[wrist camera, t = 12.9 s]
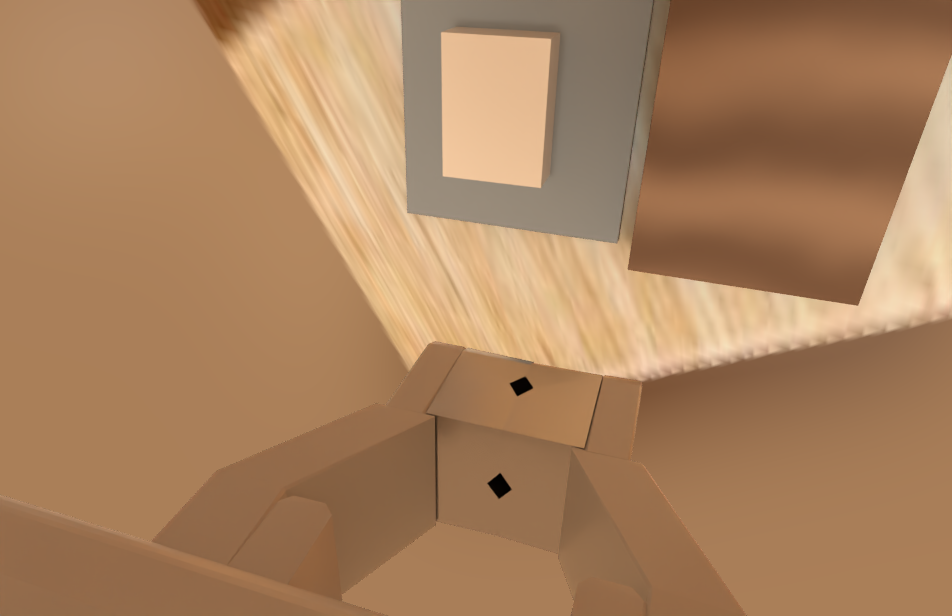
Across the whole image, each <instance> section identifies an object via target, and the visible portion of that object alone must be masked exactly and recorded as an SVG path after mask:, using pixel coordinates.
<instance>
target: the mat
mask: <svg viewBox="0 0 952 616" xmlns="http://www.w3.org/2000/svg"><path fill="white" fill-rule="evenodd" d="M653 3H654V0H401V19H402V51H403V83H404V116H405V148H406V181H407V213H413V214H419V215H426V216H433V217H440V218H447V219H453V220H460V221H467V222H474V223H481V224H488V225H494V226H501V227H508V228H515V229H522V230H528V231H535V232H542V233H549V234H556V235H562V236H569V237H576V238H583V239H590V240H596V241H603V242H610V243H618V239H619V232H620V226H621V219H622V212H623V205H624V199H625V192H626V185H627V178H628V172H629V165H630V158H631V151H632V145H633V138H634V131H635V124H636V118H637V111H638V104H639V97H640V91H641V84H642V77H643V70H644V64H645V57H646V50H647V43H648V37H649V30H650V23H651V16H652V10H653ZM454 27H472V28H489V29H506V30H523V31H540V32H557V33H560V46H559V60H558V73H557V86H556V100H555V113H554V126H553V140H552V153H551V166H550V175H549V177H548V178H547V180H546V181H545V183H544V184H543V186H542V187H541V188H536V187H528V186H519V185H511V184H503V183H494V182H486V181H478V180H469V179H461V178H453V177H444V176H443V158H442V66H441V32H443V31H446V30H448V29H451V28H454Z"/></svg>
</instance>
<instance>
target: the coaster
mask: <svg viewBox="0 0 952 616" xmlns="http://www.w3.org/2000/svg"><path fill="white" fill-rule="evenodd" d="M559 46H560V33H557V32H540V31H523V30H506V29H489V28H472V27H454V28H451V29H448V30H446V31H443V32H441V66H442V158H443V176H444V177H453V178H461V179H469V180H478V181H486V182H494V183H503V184H511V185H519V186H528V187H536V188H541V187H542V186H543V184H544V183H545V181H546V180H547V178H548V177H549V175H550V166H551V153H552V140H553V126H554V113H555V100H556V86H557V73H558V60H559Z"/></svg>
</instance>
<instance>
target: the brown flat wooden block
mask: <svg viewBox="0 0 952 616" xmlns="http://www.w3.org/2000/svg"><path fill="white" fill-rule="evenodd" d="M951 55H952V0H671V2H670V8H669V15H668V21H667V27H666V33H665V40H664V46H663V52H662V58H661V65H660V71H659V77H658V83H657V90H656V96H655V102H654V108H653V115H652V121H651V127H650V133H649V140H648V146H647V152H646V158H645V165H644V171H643V177H642V183H641V190H640V196H639V202H638V208H637V215H636V221H635V227H634V233H633V239H632V246H631V252H630V258H629V264H628V270H633V271H639V272H646V273H652V274H659V275H665V276H672V277H678V278H684V279H691V280H697V281H704V282H710V283H716V284H723V285H729V286H736V287H742V288H748V289H755V290H761V291H768V292H774V293H780V294H787V295H793V296H800V297H806V298H812V299H819V300H825V301H832V302H838V303H845V304H851V305H857V306H858V304H859V301H860V299H861V296H862V293H863V291H864V288H865V285H866V283H867V280H868V277H869V275H870V272H871V269H872V267H873V264H874V261H875V259H876V256H877V253H878V251H879V248H880V245H881V242H882V240H883V237H884V234H885V232H886V229H887V226H888V224H889V221H890V218H891V216H892V213H893V210H894V208H895V205H896V202H897V200H898V197H899V194H900V192H901V189H902V186H903V184H904V181H905V178H906V175H907V173H908V170H909V167H910V165H911V162H912V159H913V157H914V154H915V151H916V149H917V146H918V143H919V141H920V138H921V135H922V133H923V130H924V127H925V125H926V122H927V119H928V117H929V114H930V111H931V108H932V106H933V103H934V100H935V98H936V95H937V92H938V90H939V87H940V84H941V82H942V79H943V76H944V74H945V71H946V68H947V66H948V63H949V60H950V58H951Z"/></svg>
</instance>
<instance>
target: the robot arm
mask: <svg viewBox="0 0 952 616" xmlns="http://www.w3.org/2000/svg"><path fill="white" fill-rule="evenodd" d="M641 391H642V383H641V381H638V380H632V379H625V378H619V377H613V376H607V375H605V376H604V377H603V376H602V375H597V374H591V373H586V372H580V371H575V370H569V369H564V368H558V367H553V366H547V365H542V364H536V363H534V362H531V361H526V360H522V359H517V358H512V357H508V356H503V355H499V354H494V353H489V352H485V351H480V350H476V349H471V348H467V349H466V348H465V347H462V346H457V345H451V344H446V343H441V342H436V341H435V342H432V343H430V344H428V345H427V347H426V348H425V350H424V351H423V352H422V354H421V355H420V357H419V358H418V360H417V361H416V362H415V364H414V365H413V367H412V368H411V370H410V371H409V372H408V374H407V375H406V377H405V378H404V380H403V381H402V383H401V384H400V385H399V387H398V388H397V390H396V391H395V393H394V394H393V396H392V397H391V398H390V400H389V401H388V403H387V404H386V405H383V404H378V403H375V404H373V405H370V406H368V407H366V408H364V409H361V410H359V411H357V412H354V413H352V414H349V415H347V416H345V417H342V418H340V419H337V420H335V421H333V422H330V423H328V424H326V425H323V426H321V427H319V428H316V429H314V430H312V431H309V432H307V433H305V434H302V435H300V436H297V437H295V438H293V439H290V440H288V441H285V442H283V443H281V444H278V445H276V446H274V447H271V448H269V449H267V450H264V451H262V452H260V453H257V454H255V455H252V456H250V457H248V458H246V459H243V460H241V461H239V462H236V463H234V464H231V465H229V466H226V467H224V468H222V469H219V470H217V471H216V472H215V473H214V474H213V475H212V476H211V477H210V478H209V479H208V481H207V482H206V483H205V484H204V485H203V486H202V487H201V488H200V489H199V490H198V491H197V493H195V495H194V496H193V497H192V498H191V499H190V500H189V501H188V502H187V503H186V504H185V505H184V506H183V507H182V509H181V510H180V511H179V512H178V513H177V514H176V515H175V516H174V517H173V518H172V519H171V521H169V523H168V524H167V525H166V526H165V527H164V528H163V529H162V530H161V531H160V532H159V533H158V534H157V536H156V537H155V538H154V539H153V540H152V541H151V542H150V541H147V540H144V539H141V538H137V537H134V536H131V535H128V534H124V533H121V532H118V531H115V530H112V529H109V528H105V527H102V526H99V525H95V524H93V523H89V522H86V521H83V520H80V519H77V518H73V517H70V516H67V515H64V514H61V513H57V512H54V511H51V510H48V509H45V508H41V507H38V506H35V505H31V504H29V503H25V502H22V501H19V500H16V499H13V498H9V497H6V496H3V495H0V616H387V615H384V614H381V613H377V612H374V611H371V610H368V609H365V608H361V607H358V606H355V605H352V604H349V603H345V602H342V594H343V593H345V592H346V591H347V590H349V589H350V588H351V587H353V586H354V585H356V584H357V583H358V582H360V581H361V580H362V579H364V578H365V577H366V576H368V575H369V574H370V573H372V572H373V571H374V570H376V569H377V568H378V567H380V566H381V565H382V564H384V563H385V562H386V561H388V560H389V559H391V558H392V557H393V556H395V555H396V554H397V553H399V552H400V551H401V550H403V549H404V548H405V547H407V546H408V545H409V544H411V543H412V542H414V541H415V540H416V539H418V538H419V537H420V536H422V535H423V534H424V533H426V532H427V531H428V530H430V529H431V528H432V527H434V526H435V525H436V521H437V522H441V523H445V524H450V525H454V526H458V527H462V528H467V529H471V530H475V531H479V532H484V533H488V534H492V535H496V536H499V537H503V538H506V539H509V540H513V541H516V542H520V543H523V544H526V545H530V546H533V547H537V548H540V549H543V550H546V551H550V552H553V553H557V554H558V559H559V561H560V564H561V567H562V570H563V572H564V575H565V578H566V581H567V584H568V586H569V589H570V592H571V594H572V597H573V600H574V604H573V608H572V612H571V616H747V615H746V614H745V612H744V611H743V609H742V608H741V606H740V605H739V604H738V602H737V601H736V599H735V598H734V596H733V595H732V593H731V592H730V590H729V589H728V587H727V586H726V584H725V583H724V582H723V580H722V579H721V577H720V576H719V574H718V573H717V571H716V570H715V568H714V567H713V566H712V564H711V563H710V561H709V560H708V558H707V557H706V555H705V554H704V552H703V551H702V550H701V548H700V547H699V545H698V544H697V543H696V541H695V540H694V538H693V537H692V535H691V534H690V532H689V531H688V529H687V528H686V526H685V525H684V523H683V522H682V520H681V519H680V518H679V516H678V515H677V513H676V512H675V510H674V509H673V507H672V506H671V504H670V503H669V502H668V500H667V499H666V497H665V496H664V494H663V493H662V491H661V490H660V489H659V487H658V485H657V484H656V483H655V481H654V480H653V478H652V477H651V475H650V474H649V472H648V471H647V469H646V468H645V467H644V465H643V464H642V463H639V462H635V461H631V456H632V450H633V443H634V436H635V430H636V423H637V417H638V410H639V404H640V397H641Z"/></svg>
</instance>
